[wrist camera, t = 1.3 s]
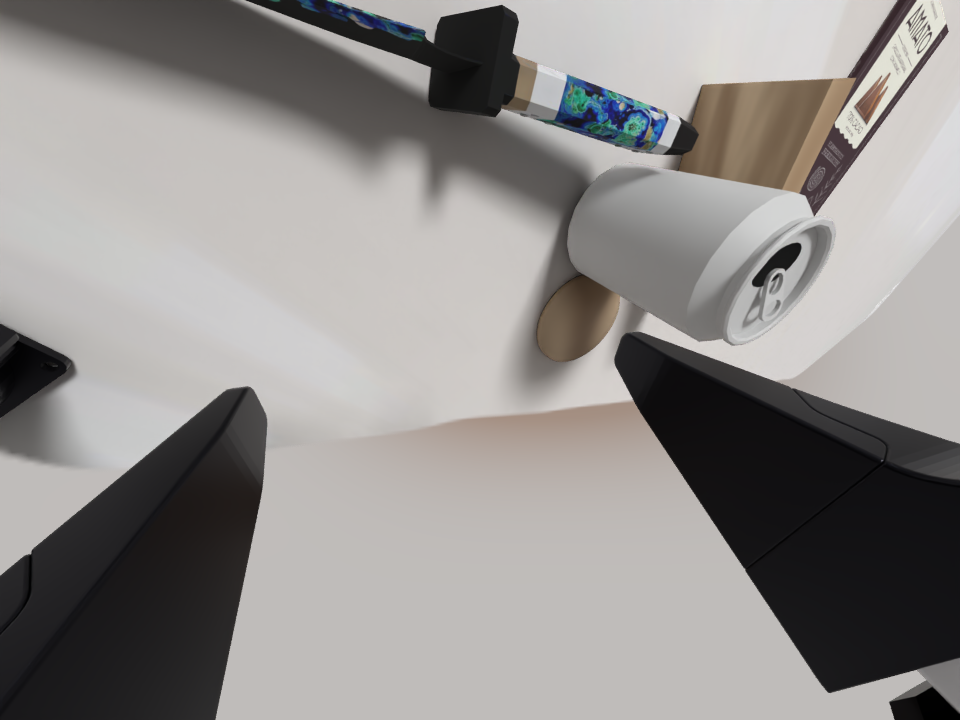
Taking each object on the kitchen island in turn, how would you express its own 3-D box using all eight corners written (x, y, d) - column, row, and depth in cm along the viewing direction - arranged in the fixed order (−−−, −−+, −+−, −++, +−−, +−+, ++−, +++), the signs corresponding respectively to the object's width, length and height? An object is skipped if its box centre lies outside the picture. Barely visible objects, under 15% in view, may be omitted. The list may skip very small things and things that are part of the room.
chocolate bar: (755, 229, 32) (930, -37, 23) (744, 226, 32) (911, -33, 24) (791, 247, 36) (948, 31, 28) (782, 244, 37) (932, 33, 29)
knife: (647, 124, 20) (714, 123, 16) (623, 180, 21) (681, 190, 18) (-406, -402, 7) (-1184, -961, 3) (-287, -166, 8) (-747, -384, 5)
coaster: (551, 373, 31) (554, 377, 31) (524, 313, 26) (527, 316, 25) (620, 322, 31) (624, 325, 31) (608, 252, 26) (613, 254, 25)
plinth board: (645, 287, 30) (718, 324, 25) (702, 84, 21) (833, 79, 16) (661, 282, 31) (736, 317, 26) (724, 83, 22) (856, 77, 17)
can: (652, 144, 22) (888, 172, 13) (641, 249, 27) (808, 320, 18) (555, 184, 21) (747, 244, 12) (562, 287, 26) (702, 382, 17)
